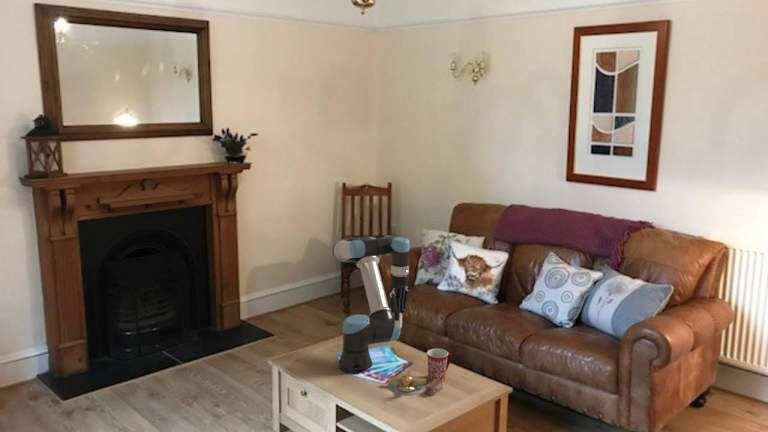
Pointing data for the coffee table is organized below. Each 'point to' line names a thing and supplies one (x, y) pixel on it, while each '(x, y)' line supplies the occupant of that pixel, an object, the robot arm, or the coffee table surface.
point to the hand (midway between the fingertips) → (398, 326)
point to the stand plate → (393, 388)
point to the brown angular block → (433, 387)
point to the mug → (438, 364)
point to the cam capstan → (406, 382)
